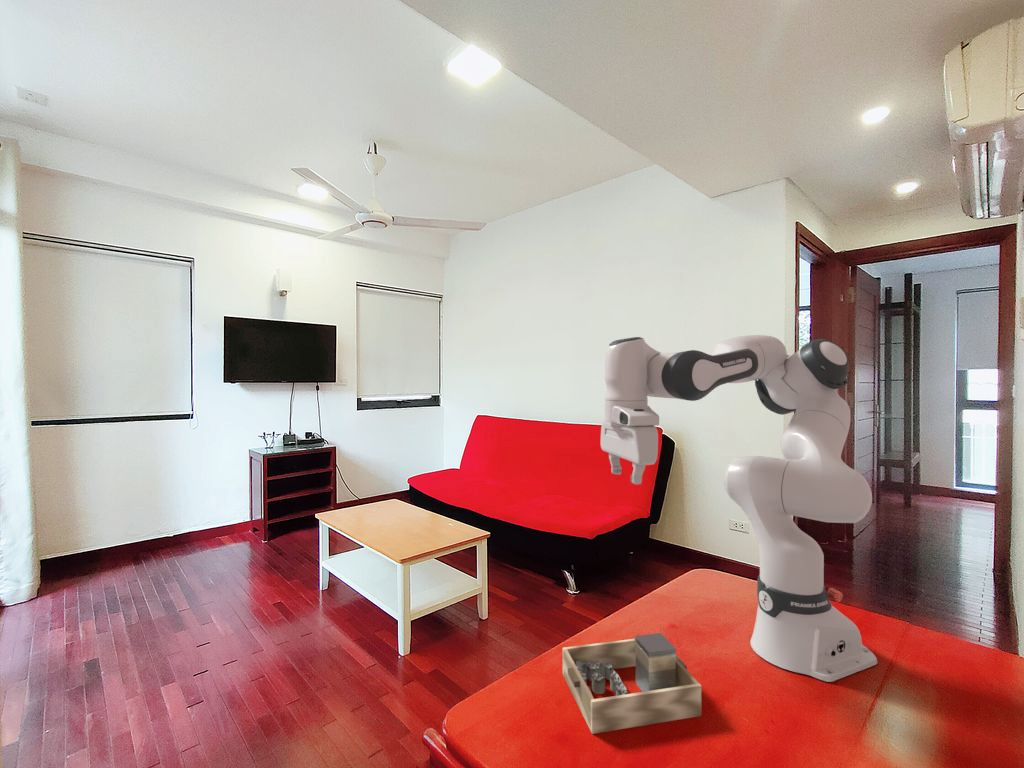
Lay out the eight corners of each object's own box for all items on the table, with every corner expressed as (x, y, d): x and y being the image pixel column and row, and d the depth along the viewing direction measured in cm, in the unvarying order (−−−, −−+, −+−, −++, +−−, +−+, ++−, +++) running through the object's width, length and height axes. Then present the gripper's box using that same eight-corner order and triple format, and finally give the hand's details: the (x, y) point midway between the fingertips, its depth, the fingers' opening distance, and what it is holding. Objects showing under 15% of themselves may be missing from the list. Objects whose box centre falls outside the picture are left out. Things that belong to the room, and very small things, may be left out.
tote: (659, 660, 91) (659, 635, 91) (706, 715, 77) (706, 684, 77) (558, 674, 87) (558, 648, 87) (586, 734, 73) (586, 703, 72)
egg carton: (630, 720, 76) (630, 695, 76) (584, 721, 76) (584, 696, 76) (614, 677, 87) (614, 655, 87) (574, 678, 87) (574, 656, 87)
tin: (634, 682, 85) (634, 636, 85) (660, 678, 86) (660, 632, 86) (648, 701, 80) (648, 652, 80) (676, 697, 81) (676, 648, 81)
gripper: (593, 410, 108) (593, 469, 109) (633, 418, 88) (633, 490, 89) (619, 410, 110) (618, 468, 110) (664, 417, 90) (664, 488, 90)
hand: (625, 478), depth 99 cm, fingers open, 8 cm apart
